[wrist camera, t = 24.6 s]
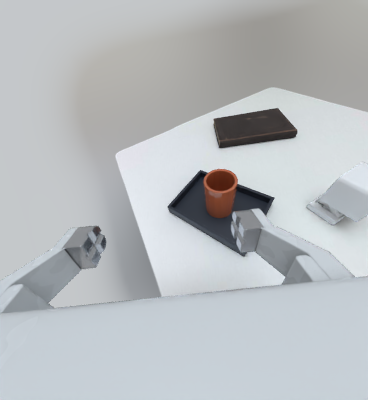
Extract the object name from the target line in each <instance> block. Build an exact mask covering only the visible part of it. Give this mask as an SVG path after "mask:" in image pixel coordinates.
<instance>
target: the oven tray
mask: <svg viewBox="0 0 368 400" xmlns="http://www.w3.org/2000/svg"><path fill="white" fill-rule="evenodd" d="M207 174H208V173H207V172H204V171H201V170H200V171H199V172H198V173H197V174H196V175H195V177H194V178H193V179H192V180H191V181H190V182H189V183H188V184H187V185H186V187H185V188H184V189H183V190H182V191H181V192H180V193H179V194H178V195H177V197H176V198H175V199H174V200H173V201H172V202H171V203H170V204H169V205H168V209H169V211H170V212H171V213H172V214H174V215H176V216H177V217H179V218H181V219H182V220H184V221H186V222H187V223H189V224H191V225H192V226H194V227H196V228H197V229H199V230H201V231H202V232H204V233H206V234H207V235H209V236H211V237H212V238H214V239H216V240H217V241H219V242H221V243H222V244H224V245H226V246H227V247H229V248H231V249H232V250H234V251H236V252H237V253H239V254H241V255H242V256H245V255H246V253H247V252H242V253H240V250H239V248H238V246H237V244H236V242H237V239H235V238H234V237H233V234H232V231H231V222H232V221H233V218H232V213H233V211H242V210H250V209H257V208H259V209H260V210H261V211H262V212H263V213H264V214H265V216H266V214H267V212H268V210H269V208H270V206H271V204H272V202H273V200H274V197H271V196H268V195H266V194H263V193H260V192H258V191H255V190H252V189H250V188H247V187H244V186H242V185H239V184H237V189H236V195H235V200H234V206H233V210H232V212H231V214H230V215H228V216H227V217H224V218H215V217H213V216H211V215H210V214H209V213H208V212H207V210H206V206H205V194H204V182H203V181H204V177H205V176H206V175H207Z"/></svg>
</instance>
